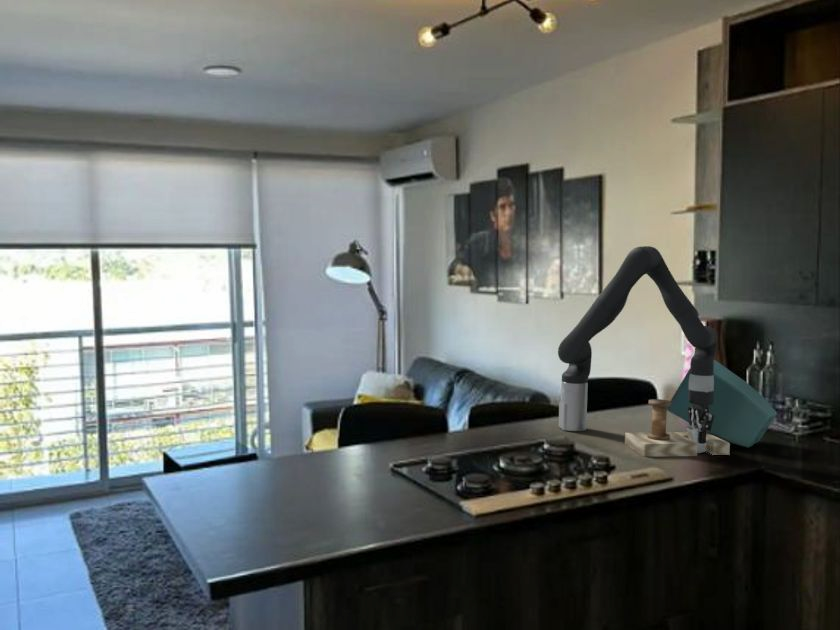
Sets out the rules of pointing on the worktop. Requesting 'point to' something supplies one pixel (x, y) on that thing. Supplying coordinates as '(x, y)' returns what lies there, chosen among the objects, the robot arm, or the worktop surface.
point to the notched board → (674, 445)
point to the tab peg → (695, 437)
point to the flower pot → (730, 408)
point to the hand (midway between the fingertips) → (699, 441)
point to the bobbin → (659, 419)
